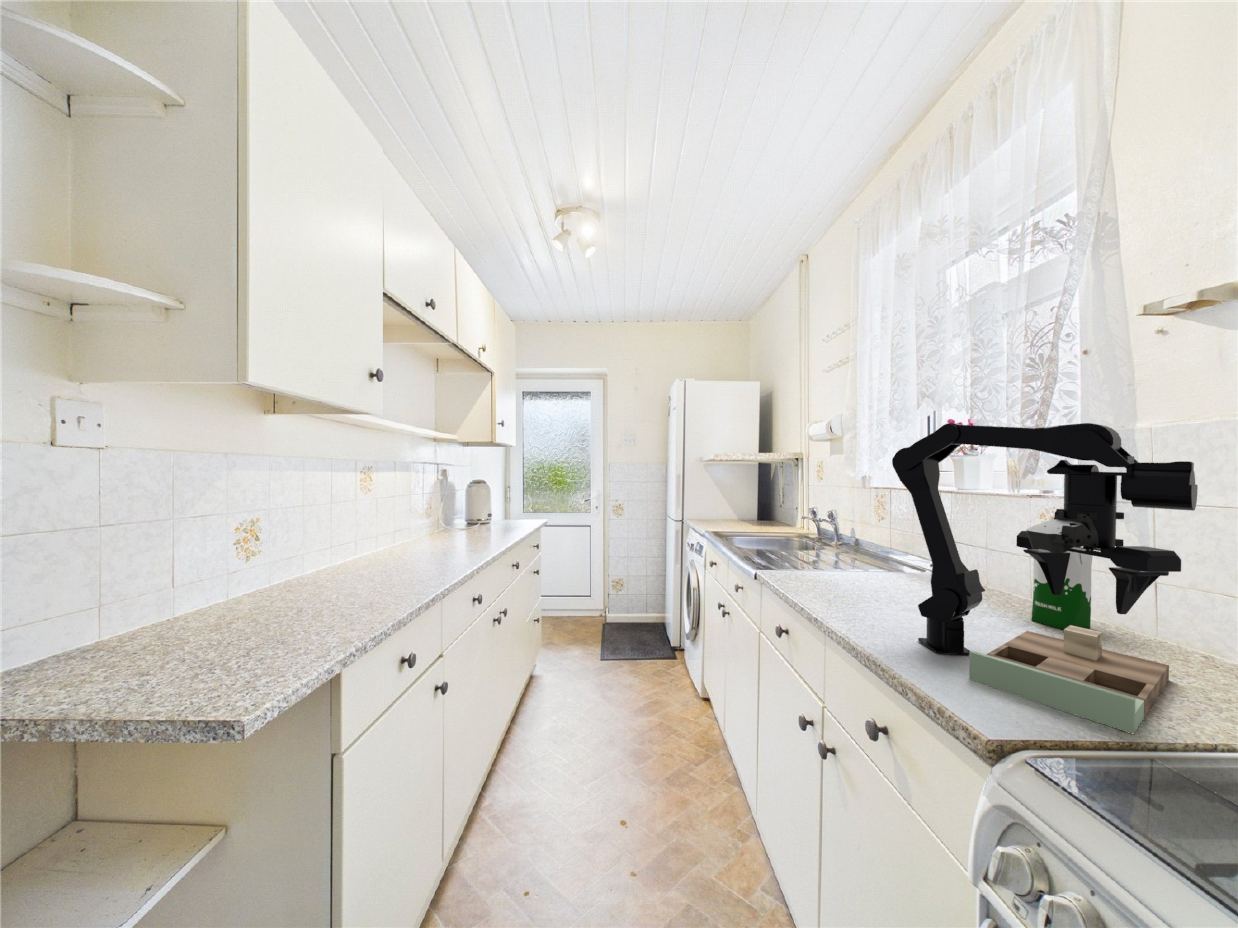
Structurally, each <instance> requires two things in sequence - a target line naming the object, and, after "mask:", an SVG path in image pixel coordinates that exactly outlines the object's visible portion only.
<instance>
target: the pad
mask: <svg viewBox="0 0 1238 928" xmlns="http://www.w3.org/2000/svg"><path fill="white" fill-rule="evenodd" d="M986 654H987V653H982V652H978V651H975V650H970V653H969V655H968V656H969V658H968V659H969V662H968V663H969V664H968V666H969V667H968V670H969V672H968V675H969V676H968V680H971V681H973V682H977V683H979V684H982V685H986V686H988V687H991V686H992V687H991V688H993V689H994V688H995V689H996V690H1001V691H1003V690H1004V691H1003V692H1007V693H1009V694H1012V695H1014V696H1018V697H1021V698H1024V699H1027V700H1030V701H1032V700H1033V702H1035V701H1036V702H1035V703H1038V702H1039V704H1041V705H1045V706H1047V705H1048V707H1050V708H1054V709H1057V710H1059V711H1063V712H1066V713H1068V714H1070V715H1074V714H1076V715H1075V716H1077V715H1078V716H1077V717H1080V716H1081V717H1080V718H1083V719H1086V718H1087V719H1086V720H1088V719H1091V720H1093V721H1092V722H1094V721H1095V722H1094V723H1098V724H1100V723H1102V724H1101V725H1103V724H1106V725H1108V726H1107V727H1109V726H1110V728H1112V727H1113V728H1112V729H1115V728H1118V729H1120V730H1119V731H1121V730H1123V731H1122V732H1124V731H1125V732H1124V733H1127V732H1129V733H1128V734H1130V733H1134V732H1135V731H1136V732H1137V730H1138V728H1139V727H1140V725H1141V724H1140V723H1142V722H1143V721H1144V719H1145V718H1144V701H1143V700H1140V699H1137V698H1133V697H1130V696H1126V695H1123V694H1119V693H1116V692H1113V691H1109V690H1106V689H1102V688H1099V687H1095V686H1092V685H1089V684H1085V683H1082V682H1078V681H1075V680H1072V679H1068V678H1065V677H1061V676H1058V675H1054V674H1051V673H1048V672H1044V671H1041V670H1037V669H1034V668H1030V667H1027V666H1024V665H1020V664H1017V663H1013V662H1010V661H1006V660H1003V659H1000V658H996V657H993V656H989V655H986ZM1091 720H1090V721H1091ZM1142 720H1143V721H1142ZM1106 725H1105V726H1106ZM1138 726H1139V727H1138ZM1118 729H1117V730H1118ZM1136 729H1137V730H1136ZM1136 732H1135V733H1136ZM1135 733H1134V734H1135Z"/></svg>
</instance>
